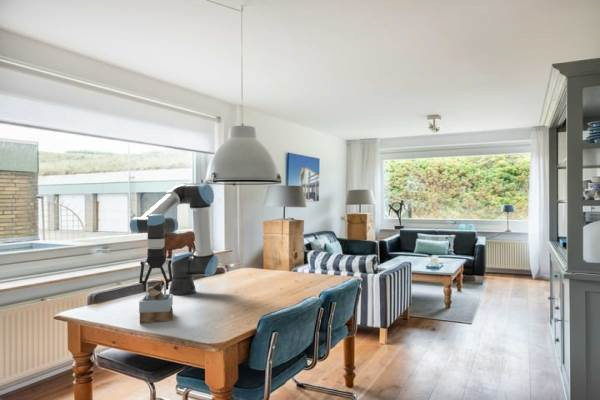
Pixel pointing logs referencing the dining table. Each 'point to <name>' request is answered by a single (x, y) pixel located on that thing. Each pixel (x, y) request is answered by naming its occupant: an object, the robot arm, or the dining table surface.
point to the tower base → (156, 317)
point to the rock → (156, 291)
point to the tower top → (156, 304)
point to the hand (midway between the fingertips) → (156, 297)
